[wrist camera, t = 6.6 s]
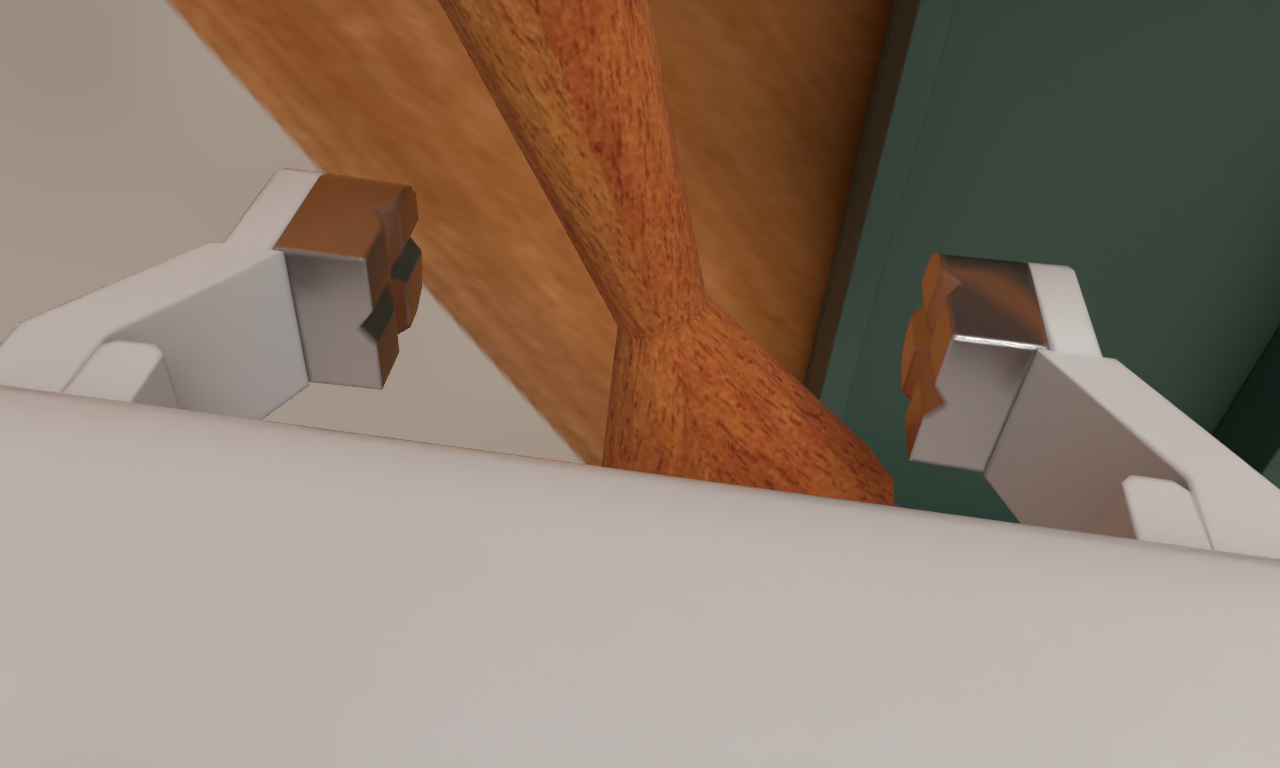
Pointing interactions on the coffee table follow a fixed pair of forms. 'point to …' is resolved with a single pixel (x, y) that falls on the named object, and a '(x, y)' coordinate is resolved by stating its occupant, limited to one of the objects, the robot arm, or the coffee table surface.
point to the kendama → (651, 256)
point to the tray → (1070, 206)
